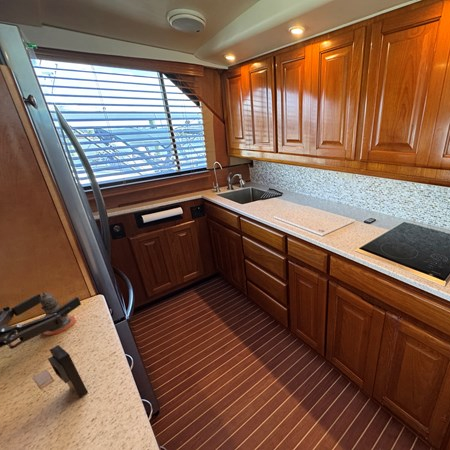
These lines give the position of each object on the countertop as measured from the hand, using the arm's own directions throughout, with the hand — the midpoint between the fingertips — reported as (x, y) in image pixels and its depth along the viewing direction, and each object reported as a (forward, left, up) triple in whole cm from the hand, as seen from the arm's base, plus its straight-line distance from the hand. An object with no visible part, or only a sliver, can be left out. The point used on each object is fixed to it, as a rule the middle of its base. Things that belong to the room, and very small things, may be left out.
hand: (59, 299), depth 73 cm
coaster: (0, -3, -8) cm, 8 cm away
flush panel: (+27, -18, -8) cm, 34 cm away
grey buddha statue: (+1, -3, -8) cm, 8 cm away
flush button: (+27, -20, -2) cm, 34 cm away
